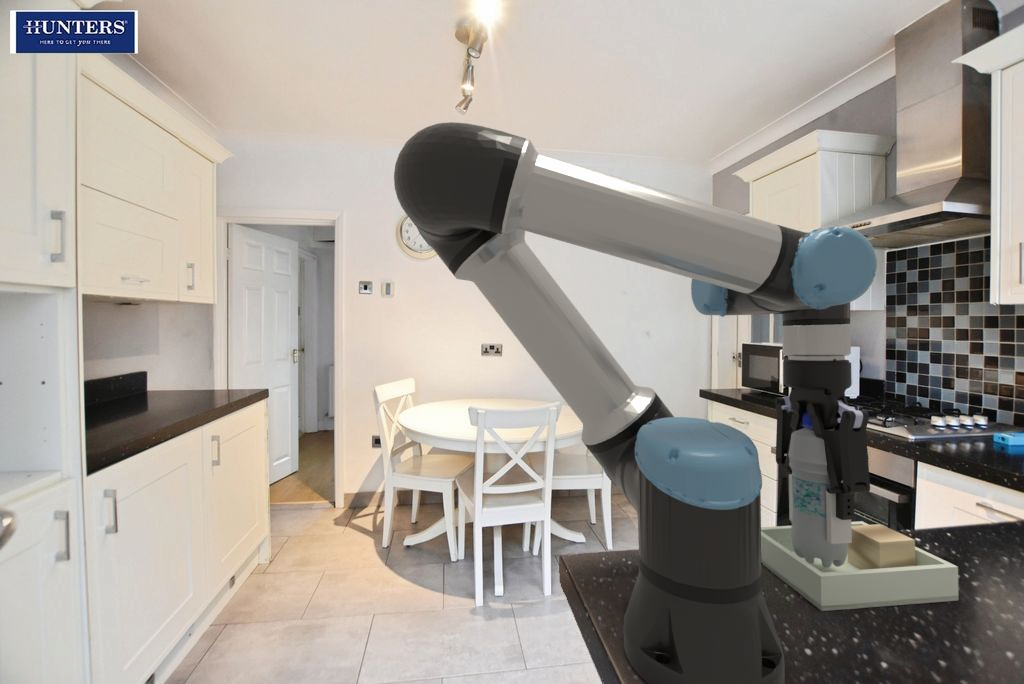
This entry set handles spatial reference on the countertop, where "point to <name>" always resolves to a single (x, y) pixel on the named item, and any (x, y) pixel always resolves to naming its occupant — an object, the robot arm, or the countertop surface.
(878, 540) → the cube
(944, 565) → the tote
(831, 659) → the countertop surface
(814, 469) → the bottle
